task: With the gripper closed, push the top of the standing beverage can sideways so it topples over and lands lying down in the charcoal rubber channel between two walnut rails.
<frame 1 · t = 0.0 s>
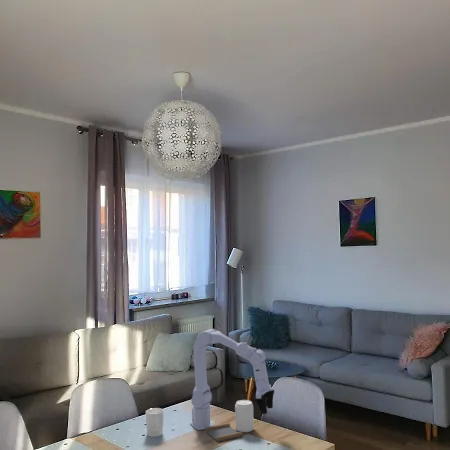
hand: (267, 410, 199), 11 cm above the table, tool pointing down, fingers open, 7 cm apart
white cup: (154, 434, 203), on the table
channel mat: (223, 434, 201), on the table
beverage can: (244, 430, 206), on the table
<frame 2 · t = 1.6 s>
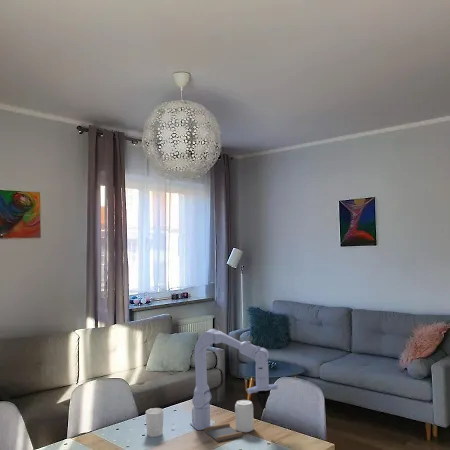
hand: (263, 407, 203), 10 cm above the table, tool pointing down, fingers closed
nothing on the table moved.
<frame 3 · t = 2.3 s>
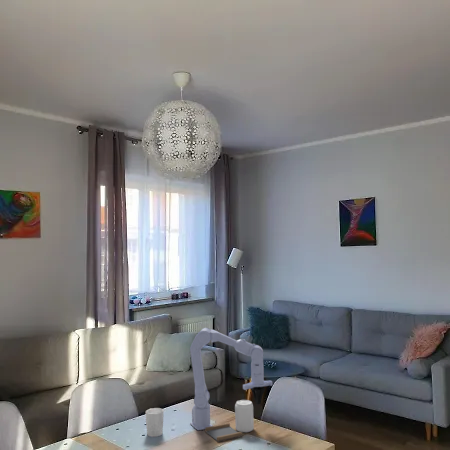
hand: (258, 403, 209), 10 cm above the table, tool pointing down, fingers closed
nothing on the table moved.
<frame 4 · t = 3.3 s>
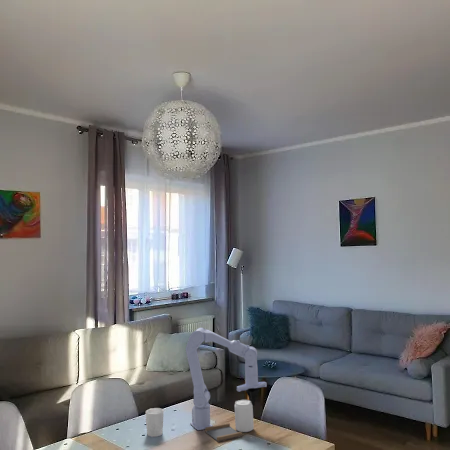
hand: (252, 405, 208), 10 cm above the table, tool pointing down, fingers closed, pressing on beverage can
beverage can: (244, 430, 206), on the table, touching gripper
everything else where it was.
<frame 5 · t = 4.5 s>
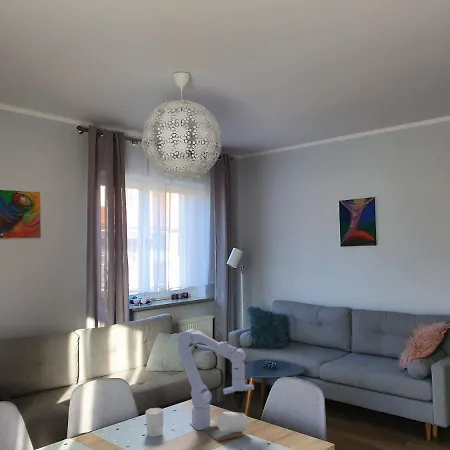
hand: (239, 408, 205), 10 cm above the table, tool pointing down, fingers closed
beverage can: (242, 423, 203), point 4 cm above the table
everything else where it was.
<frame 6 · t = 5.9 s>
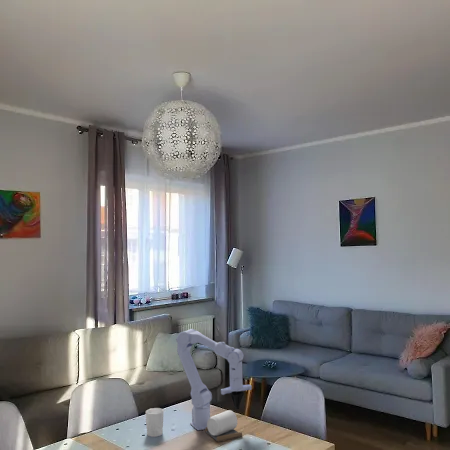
hand: (236, 408, 205), 10 cm above the table, tool pointing down, fingers closed
beverage can: (232, 419, 206), point 5 cm above the table, touching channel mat
everything else where it was.
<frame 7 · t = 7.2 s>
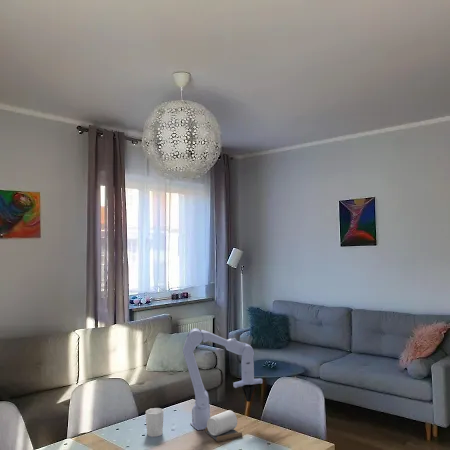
hand: (248, 401, 213), 10 cm above the table, tool pointing down, fingers closed
nothing on the table moved.
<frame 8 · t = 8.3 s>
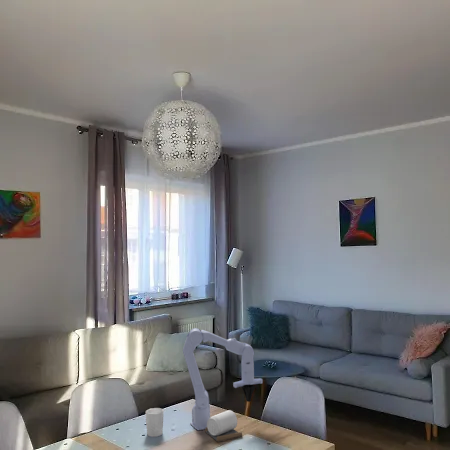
hand: (248, 401, 213), 10 cm above the table, tool pointing down, fingers closed
nothing on the table moved.
at the end: beverage can tilted 91°; beverage can inside the target area (6.8 cm from its centre), point 4.6 cm above the table; the gripper is holding nothing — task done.
